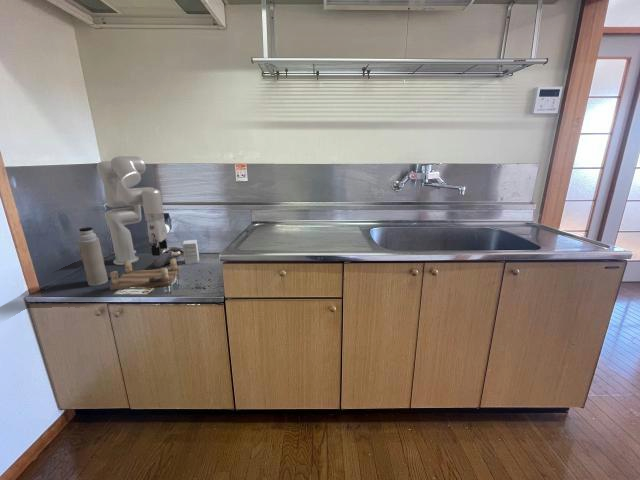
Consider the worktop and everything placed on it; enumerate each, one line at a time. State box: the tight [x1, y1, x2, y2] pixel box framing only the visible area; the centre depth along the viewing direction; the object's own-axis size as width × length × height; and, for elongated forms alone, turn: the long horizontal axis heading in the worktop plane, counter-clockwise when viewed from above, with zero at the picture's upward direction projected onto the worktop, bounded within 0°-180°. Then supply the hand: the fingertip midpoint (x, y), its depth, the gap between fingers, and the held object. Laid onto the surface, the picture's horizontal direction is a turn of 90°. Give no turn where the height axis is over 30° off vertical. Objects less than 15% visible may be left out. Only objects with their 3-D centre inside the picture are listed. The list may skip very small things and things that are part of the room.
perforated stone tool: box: [153, 249, 174, 268], centre depth 165 cm, size 15×5×7 cm, turn 171°
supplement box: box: [182, 239, 200, 265], centre depth 168 cm, size 7×7×13 cm
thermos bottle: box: [77, 226, 109, 287], centre depth 138 cm, size 8×8×28 cm
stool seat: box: [109, 258, 181, 291], centre depth 144 cm, size 18×26×8 cm
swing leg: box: [149, 267, 169, 282], centre depth 138 cm, size 9×3×6 cm, turn 100°
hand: (160, 251), depth 135 cm, fingers open, 9 cm apart
